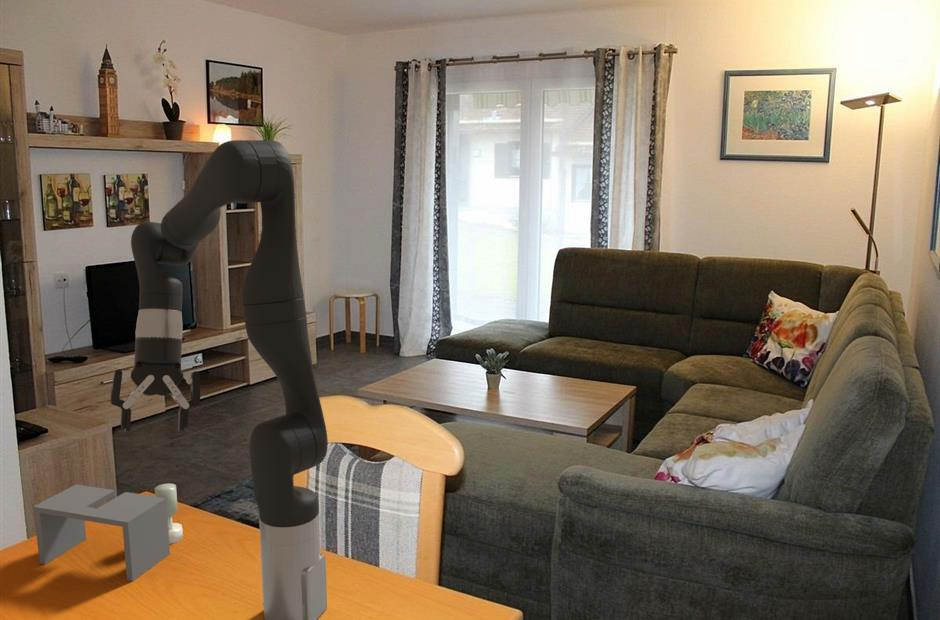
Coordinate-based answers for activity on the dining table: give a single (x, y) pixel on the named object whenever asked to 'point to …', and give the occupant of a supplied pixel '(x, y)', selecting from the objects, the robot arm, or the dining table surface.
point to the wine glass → (170, 510)
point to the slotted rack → (134, 512)
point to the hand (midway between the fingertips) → (154, 431)
